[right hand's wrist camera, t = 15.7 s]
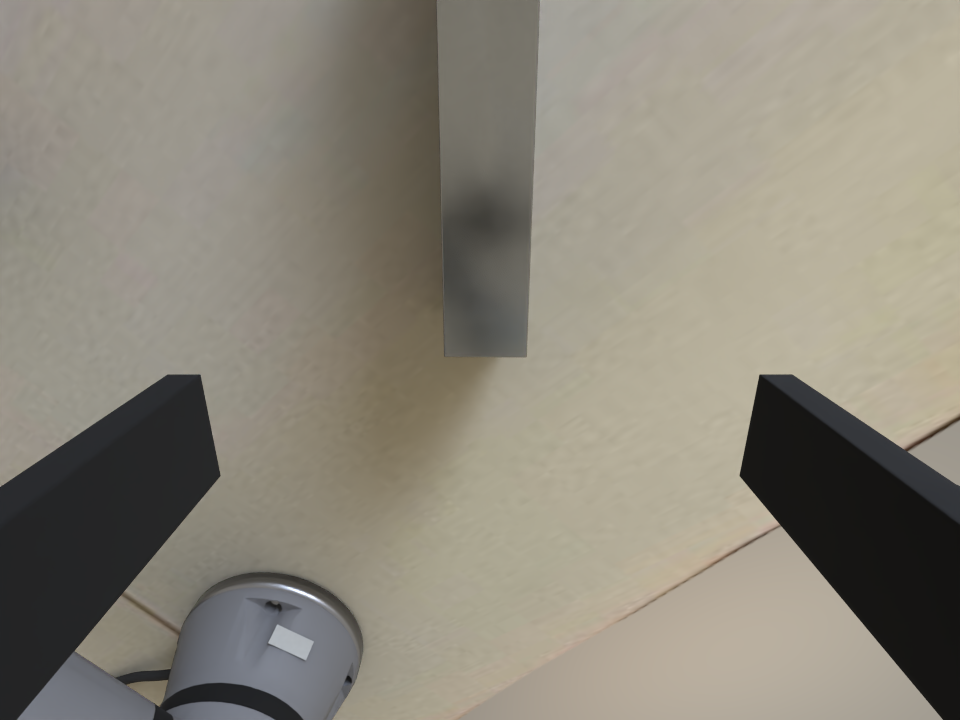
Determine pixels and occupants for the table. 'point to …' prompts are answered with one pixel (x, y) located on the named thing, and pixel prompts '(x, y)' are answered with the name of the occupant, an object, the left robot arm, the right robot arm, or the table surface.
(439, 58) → the bar
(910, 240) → the table surface
